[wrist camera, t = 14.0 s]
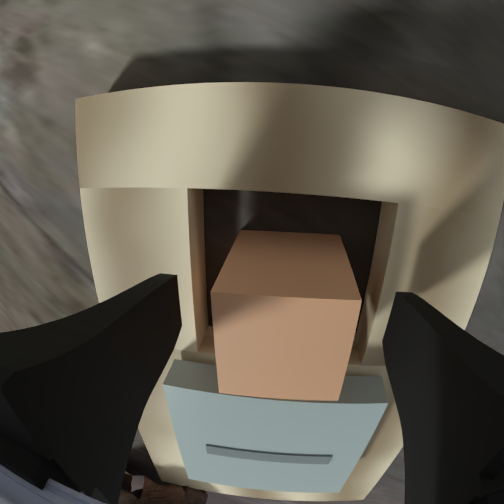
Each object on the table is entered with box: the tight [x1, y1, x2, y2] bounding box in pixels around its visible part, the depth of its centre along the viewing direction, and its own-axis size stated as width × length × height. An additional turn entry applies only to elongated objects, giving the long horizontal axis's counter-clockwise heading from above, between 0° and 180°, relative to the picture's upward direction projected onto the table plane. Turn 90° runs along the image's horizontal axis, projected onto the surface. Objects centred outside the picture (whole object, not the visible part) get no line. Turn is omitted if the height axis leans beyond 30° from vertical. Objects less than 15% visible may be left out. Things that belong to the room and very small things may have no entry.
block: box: [211, 230, 362, 401], centre depth 11 cm, size 4×4×5 cm
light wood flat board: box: [75, 82, 504, 501], centre depth 15 cm, size 16×26×2 cm, turn 179°
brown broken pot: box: [118, 474, 208, 504], centre depth 21 cm, size 12×9×8 cm
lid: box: [163, 359, 388, 493], centre depth 14 cm, size 9×9×2 cm
